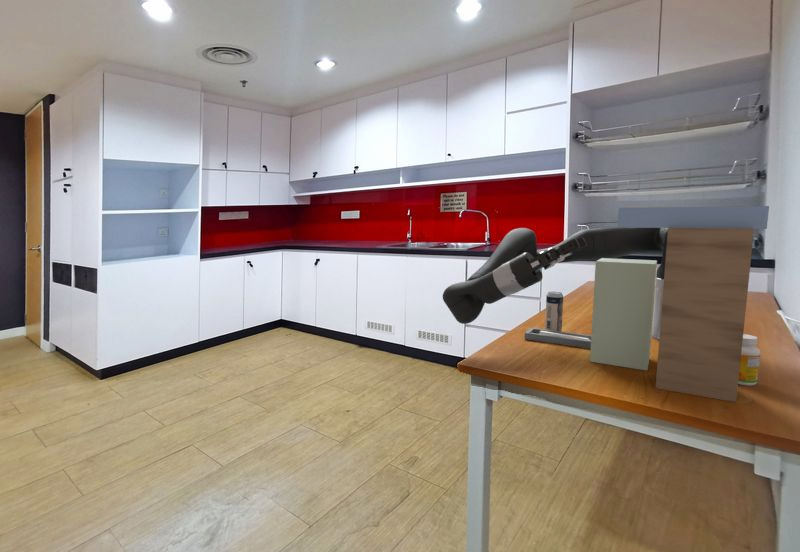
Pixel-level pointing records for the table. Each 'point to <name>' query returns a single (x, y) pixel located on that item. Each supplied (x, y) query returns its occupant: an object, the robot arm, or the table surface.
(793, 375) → the table surface
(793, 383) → the table surface
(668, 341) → the walnut stand
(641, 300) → the pale green tall block
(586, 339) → the white hexagonal pencil
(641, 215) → the blue block
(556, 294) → the beer can
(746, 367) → the supplement bottle
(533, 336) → the pen tray
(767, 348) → the table surface
